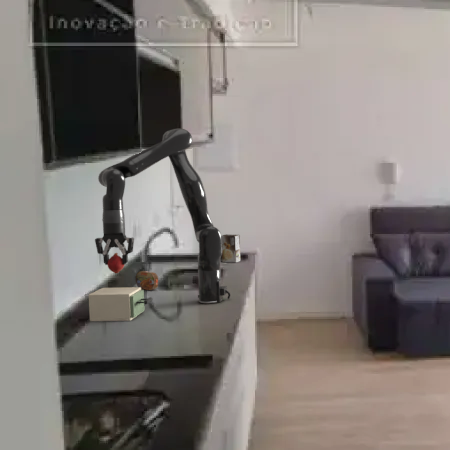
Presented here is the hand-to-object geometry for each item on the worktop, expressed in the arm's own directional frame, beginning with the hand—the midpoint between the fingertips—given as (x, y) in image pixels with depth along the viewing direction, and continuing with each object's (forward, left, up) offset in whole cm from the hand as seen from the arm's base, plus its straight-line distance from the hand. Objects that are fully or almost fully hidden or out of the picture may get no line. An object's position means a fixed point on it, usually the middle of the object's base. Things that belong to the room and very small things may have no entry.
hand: (115, 264), depth 242 cm
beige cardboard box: (+1, -1, -21) cm, 21 cm away
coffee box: (-16, -131, -21) cm, 133 cm away
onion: (0, 0, -4) cm, 4 cm away
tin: (+7, -53, -21) cm, 58 cm away
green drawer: (-3, -1, -20) cm, 20 cm away
